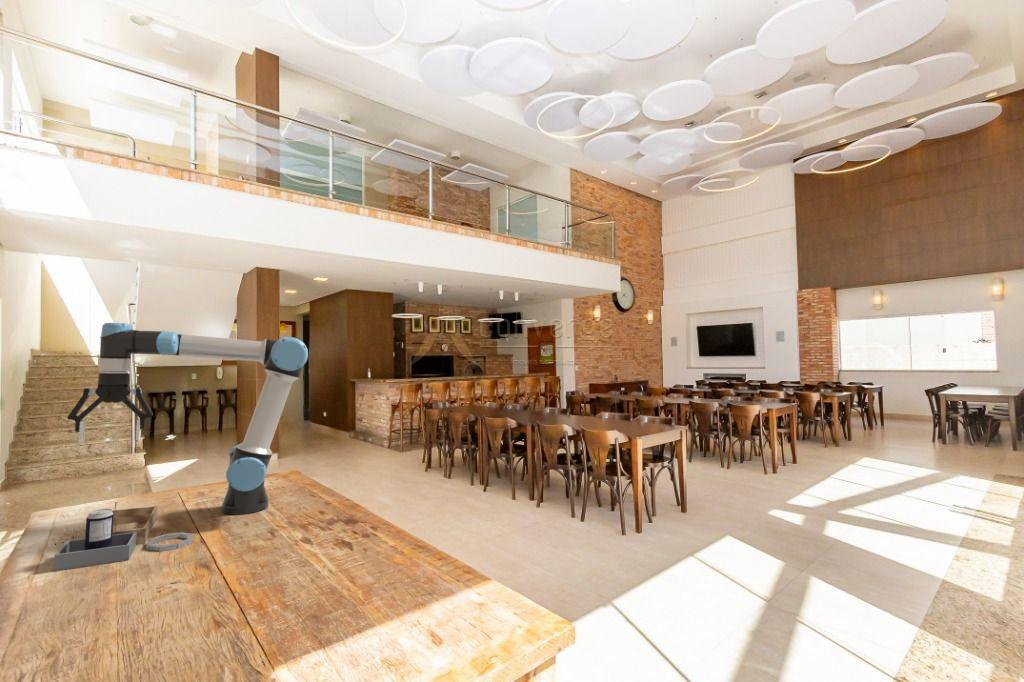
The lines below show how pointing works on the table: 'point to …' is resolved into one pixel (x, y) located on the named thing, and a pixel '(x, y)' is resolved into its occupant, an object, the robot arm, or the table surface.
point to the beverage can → (99, 529)
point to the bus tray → (94, 552)
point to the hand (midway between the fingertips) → (110, 441)
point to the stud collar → (155, 547)
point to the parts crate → (136, 516)
